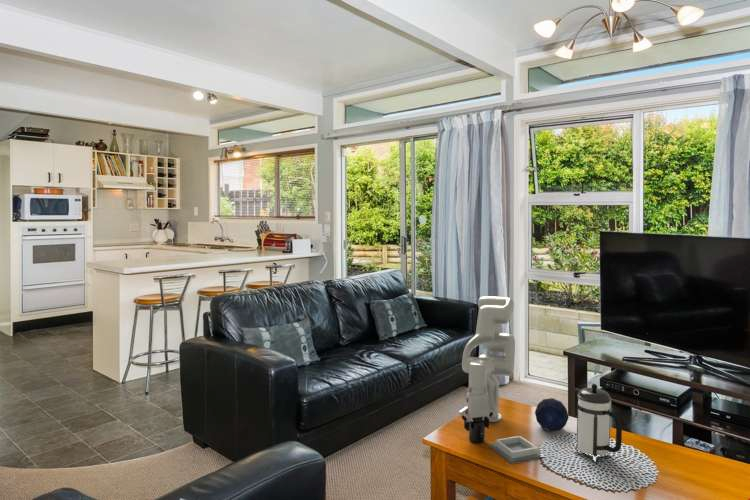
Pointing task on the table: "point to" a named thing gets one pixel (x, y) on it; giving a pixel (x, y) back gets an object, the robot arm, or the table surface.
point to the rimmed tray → (515, 449)
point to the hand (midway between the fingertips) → (476, 428)
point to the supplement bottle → (477, 430)
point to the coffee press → (596, 422)
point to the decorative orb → (551, 414)
